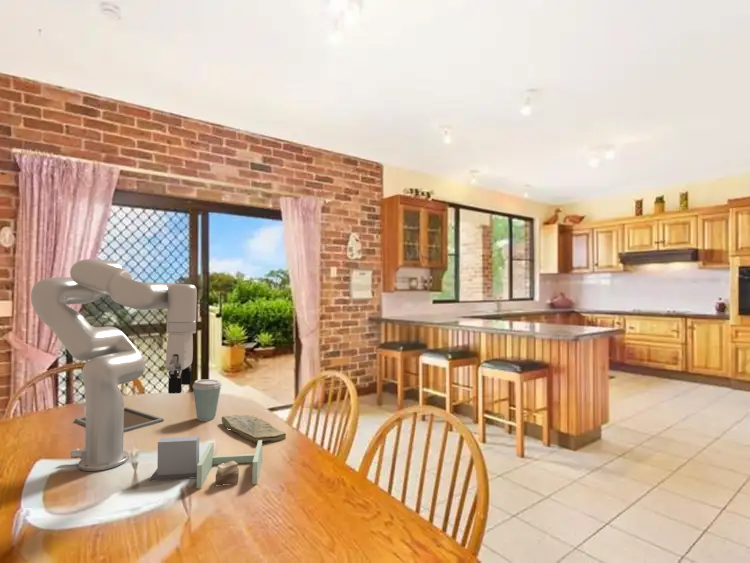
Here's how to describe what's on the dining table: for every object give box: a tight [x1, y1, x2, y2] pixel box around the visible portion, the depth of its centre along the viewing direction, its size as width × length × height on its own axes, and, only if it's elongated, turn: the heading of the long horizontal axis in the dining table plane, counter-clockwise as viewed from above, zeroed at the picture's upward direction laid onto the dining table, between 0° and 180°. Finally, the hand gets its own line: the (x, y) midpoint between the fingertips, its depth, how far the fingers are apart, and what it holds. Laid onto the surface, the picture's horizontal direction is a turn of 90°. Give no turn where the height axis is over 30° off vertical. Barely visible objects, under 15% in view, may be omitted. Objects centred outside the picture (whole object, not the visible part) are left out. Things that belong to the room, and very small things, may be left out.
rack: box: [196, 440, 263, 489], centre depth 119 cm, size 15×16×6 cm
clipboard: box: [74, 406, 165, 433], centre depth 162 cm, size 19×2×30 cm
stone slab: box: [221, 414, 287, 443], centre depth 153 cm, size 12×4×30 cm
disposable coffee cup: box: [192, 379, 222, 422], centre depth 166 cm, size 11×11×15 cm
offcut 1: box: [217, 461, 239, 476], centre depth 113 cm, size 4×3×2 cm, turn 135°
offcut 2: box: [215, 468, 240, 486], centre depth 113 cm, size 6×3×3 cm, turn 104°
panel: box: [148, 468, 197, 482], centre depth 118 cm, size 13×7×1 cm, turn 100°
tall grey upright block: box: [156, 435, 200, 475], centre depth 118 cm, size 10×4×9 cm, turn 100°
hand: (180, 388), depth 119 cm, fingers open, 9 cm apart
